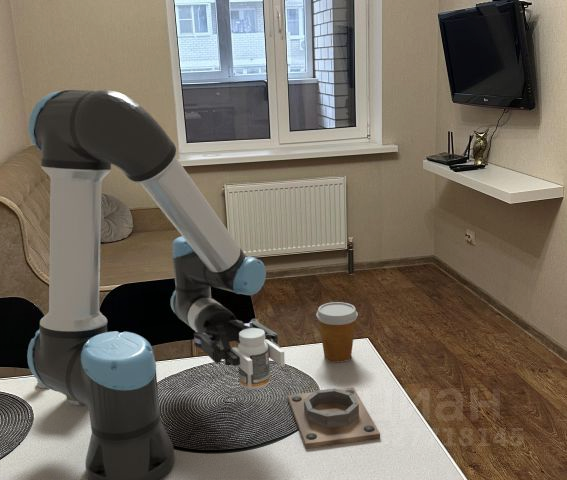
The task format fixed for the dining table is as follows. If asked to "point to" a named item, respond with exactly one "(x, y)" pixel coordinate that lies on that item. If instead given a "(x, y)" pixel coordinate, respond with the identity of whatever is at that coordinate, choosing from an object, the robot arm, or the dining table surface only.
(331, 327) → the disposable coffee cup
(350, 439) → the socket plate
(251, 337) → the pill bottle
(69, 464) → the dining table surface
